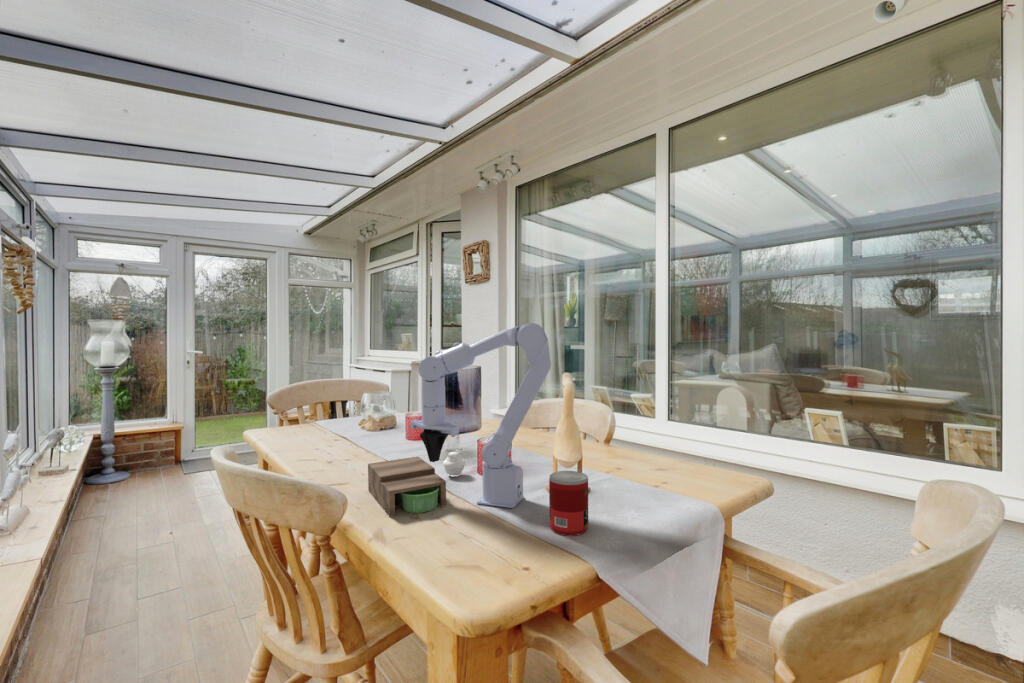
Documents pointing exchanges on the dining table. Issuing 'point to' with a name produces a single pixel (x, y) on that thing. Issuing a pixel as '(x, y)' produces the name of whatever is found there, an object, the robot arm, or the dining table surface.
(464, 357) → the robot arm
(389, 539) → the dining table surface
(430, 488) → the ramekin
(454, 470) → the white sugar bowl
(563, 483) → the canned food
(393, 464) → the walnut shelf
